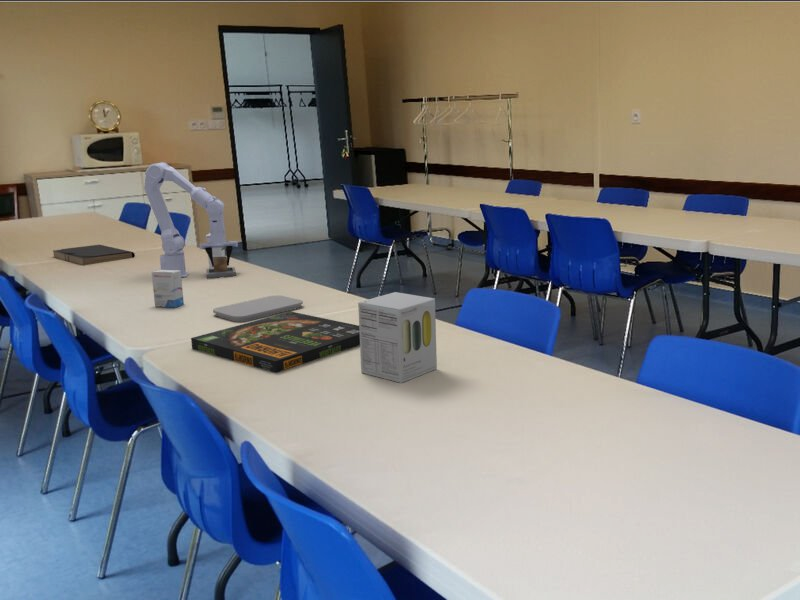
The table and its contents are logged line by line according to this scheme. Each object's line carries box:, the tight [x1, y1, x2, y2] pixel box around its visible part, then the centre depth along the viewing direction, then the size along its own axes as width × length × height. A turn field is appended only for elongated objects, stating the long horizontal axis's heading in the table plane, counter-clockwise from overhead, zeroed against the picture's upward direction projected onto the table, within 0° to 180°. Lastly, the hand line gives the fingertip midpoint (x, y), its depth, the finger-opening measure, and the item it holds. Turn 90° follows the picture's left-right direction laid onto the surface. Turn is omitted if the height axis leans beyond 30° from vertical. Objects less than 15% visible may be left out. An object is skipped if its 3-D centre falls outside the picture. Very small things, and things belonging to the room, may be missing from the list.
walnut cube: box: [213, 256, 228, 272], centre depth 317 cm, size 5×5×5 cm
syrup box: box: [205, 232, 226, 269], centre depth 331 cm, size 6×6×14 cm
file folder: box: [52, 244, 136, 266], centre depth 369 cm, size 33×4×24 cm
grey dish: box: [206, 266, 237, 279], centre depth 318 cm, size 11×11×2 cm
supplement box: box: [357, 291, 438, 384], centre depth 192 cm, size 13×13×18 cm
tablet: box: [212, 294, 303, 323], centre depth 258 cm, size 16×26×2 cm, turn 135°
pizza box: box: [190, 310, 360, 374], centre depth 220 cm, size 35×35×4 cm
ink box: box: [151, 269, 185, 308], centre depth 268 cm, size 9×5×12 cm, turn 71°
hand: (220, 265), depth 317 cm, fingers closed on walnut cube, 5 cm apart
